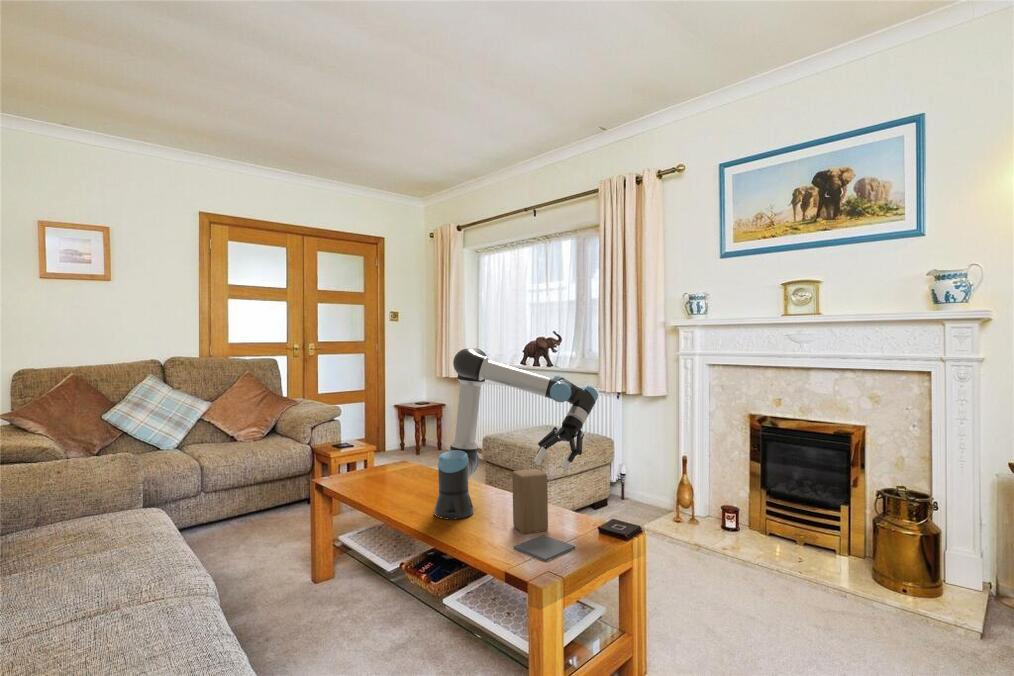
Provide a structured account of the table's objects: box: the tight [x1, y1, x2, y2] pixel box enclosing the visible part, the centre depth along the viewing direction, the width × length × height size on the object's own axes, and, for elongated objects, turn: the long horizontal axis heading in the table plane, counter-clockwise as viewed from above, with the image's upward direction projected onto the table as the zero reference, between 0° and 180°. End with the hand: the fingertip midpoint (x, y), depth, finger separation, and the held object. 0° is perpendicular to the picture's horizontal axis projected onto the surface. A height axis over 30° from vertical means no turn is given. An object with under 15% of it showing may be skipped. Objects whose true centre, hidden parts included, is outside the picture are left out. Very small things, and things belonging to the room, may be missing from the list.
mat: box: [513, 534, 576, 562], centre depth 163 cm, size 14×14×1 cm
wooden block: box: [511, 468, 549, 535], centre depth 181 cm, size 10×10×20 cm
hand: (549, 465), depth 189 cm, fingers open, 13 cm apart
